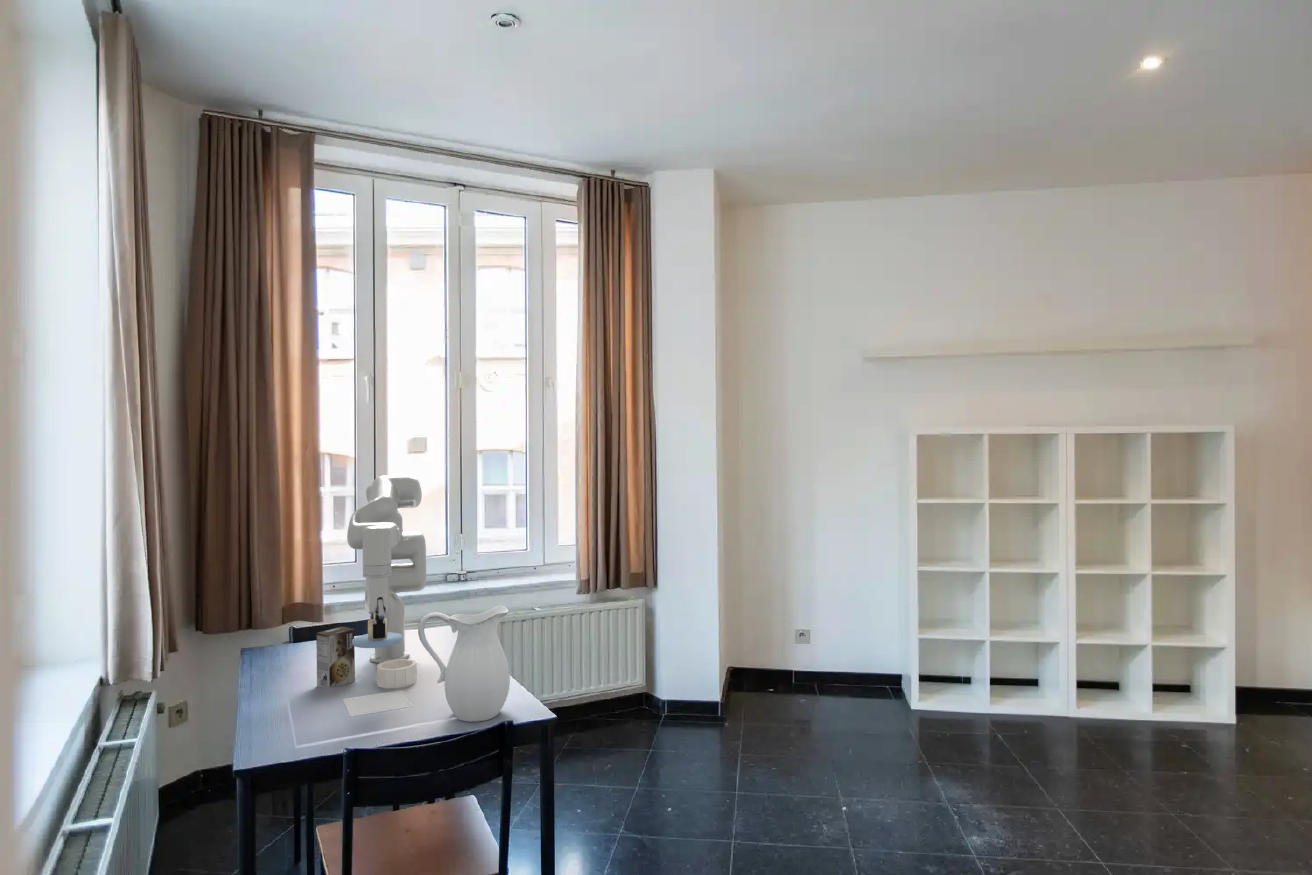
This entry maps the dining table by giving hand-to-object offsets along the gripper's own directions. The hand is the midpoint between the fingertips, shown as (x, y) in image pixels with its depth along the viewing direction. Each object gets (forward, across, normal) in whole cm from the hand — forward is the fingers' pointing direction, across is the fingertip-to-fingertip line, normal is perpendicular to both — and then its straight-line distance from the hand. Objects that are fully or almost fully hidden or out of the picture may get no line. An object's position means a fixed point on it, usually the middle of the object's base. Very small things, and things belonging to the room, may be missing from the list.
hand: (377, 635), depth 211 cm
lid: (+2, 0, 0) cm, 2 cm away
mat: (+19, 0, 0) cm, 19 cm away
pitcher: (+19, +20, +19) cm, 34 cm away
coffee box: (+20, -26, -8) cm, 33 cm away
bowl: (+19, -16, +8) cm, 26 cm away
